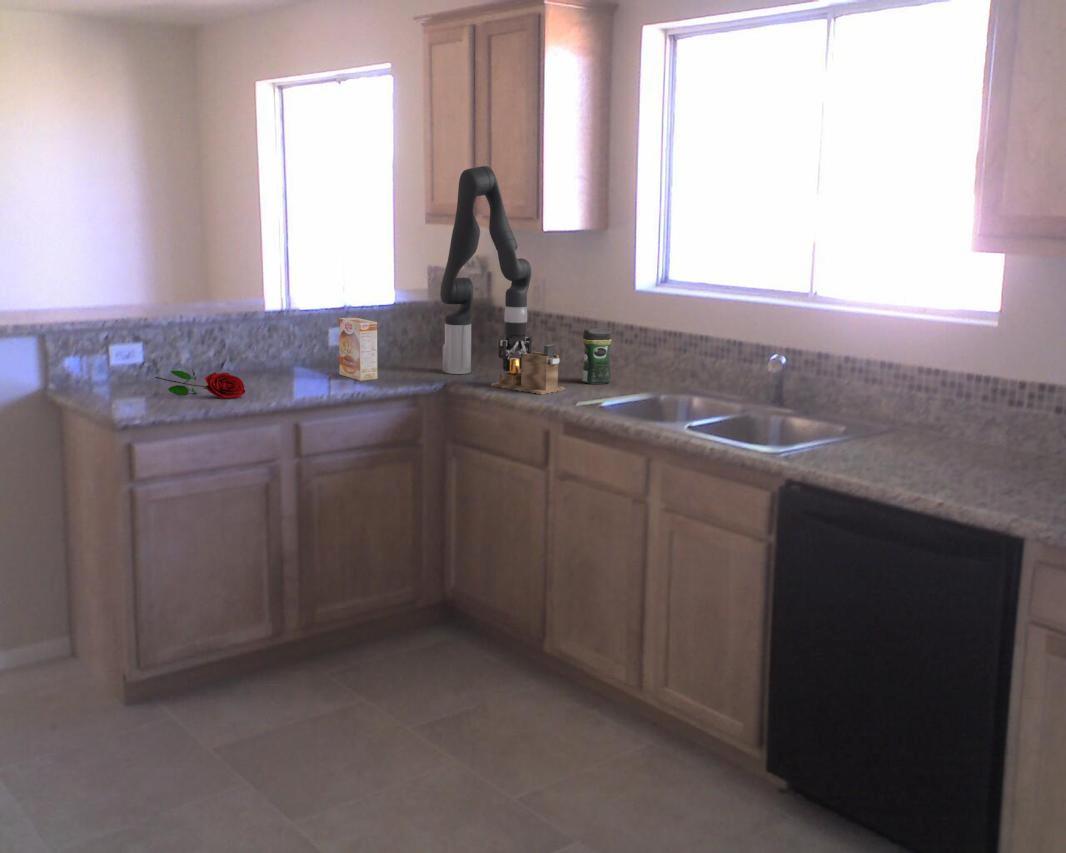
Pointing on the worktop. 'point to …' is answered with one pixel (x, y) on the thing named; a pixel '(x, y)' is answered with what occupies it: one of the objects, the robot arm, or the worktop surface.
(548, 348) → the grey angular block
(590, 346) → the coffee jar
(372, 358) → the coffeecake box
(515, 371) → the peg
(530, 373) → the mount
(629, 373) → the worktop surface
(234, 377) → the flower
